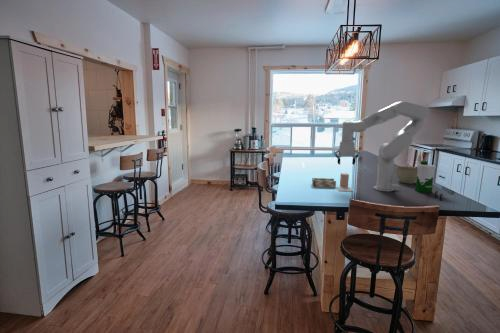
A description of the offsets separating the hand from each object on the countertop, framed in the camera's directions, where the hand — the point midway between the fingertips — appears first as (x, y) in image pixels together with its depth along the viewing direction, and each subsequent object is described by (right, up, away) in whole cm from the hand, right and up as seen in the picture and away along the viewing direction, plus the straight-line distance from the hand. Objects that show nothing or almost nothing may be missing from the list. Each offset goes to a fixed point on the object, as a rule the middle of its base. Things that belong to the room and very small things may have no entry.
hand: (346, 164), depth 202 cm
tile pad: (-3, -17, -6) cm, 18 cm away
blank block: (-1, -16, +3) cm, 16 cm away
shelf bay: (-15, -15, +4) cm, 22 cm away
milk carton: (+49, -18, -8) cm, 53 cm away
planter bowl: (+51, -14, +18) cm, 56 cm away
